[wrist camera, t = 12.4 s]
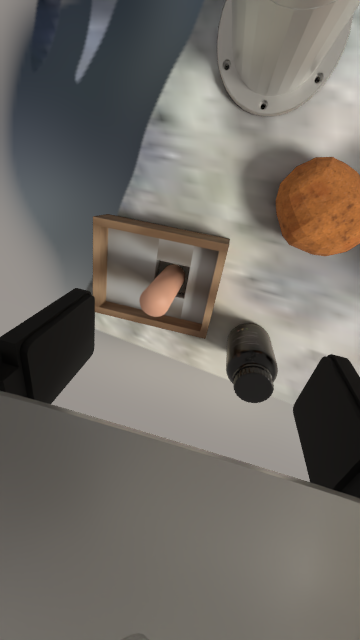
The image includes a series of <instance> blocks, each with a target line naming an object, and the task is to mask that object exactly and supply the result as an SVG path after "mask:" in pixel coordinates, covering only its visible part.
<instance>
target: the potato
mask: <svg viewBox="0 0 360 640" xmlns="http://www.w3.org/2000/svg"><path fill="white" fill-rule="evenodd" d="M276 213H277V217H278V221H279V224H280V228H281V232H282V236H283V237H284V238H285V240H286V241H287V242H288V244H289V245H291V246H294V247H296V248H298V249H301V250H303V251H305V252H308V253H310V254H314V255H321V256H329V255H334V254H338V253H343V252H347V251H348V250H350V249H352V248H353V247H355V246H356V245H358V244H360V175H359V174H358V173H357V171H355V170H354V169H352V168H351V167H350V166H348V165H347V164H345V163H343V162H341V161H339V160H337V159H335V158H334V157H316V158H314V159H312V160H310V161H308V162H305V163H303V164H301V165H299V166H297V167H296V168H295V169H294V170H293V171H292V172H291V173H290V174H289V175H288V176H287V177H286V178H285V179H284V180H283V181H282V182H281V183H280V187H279V190H278V194H277V197H276Z"/></svg>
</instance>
